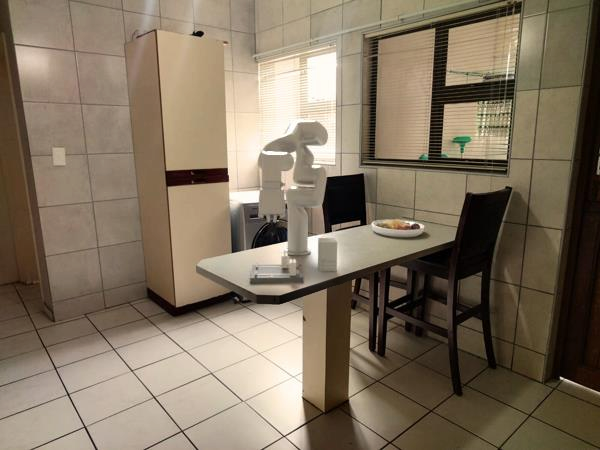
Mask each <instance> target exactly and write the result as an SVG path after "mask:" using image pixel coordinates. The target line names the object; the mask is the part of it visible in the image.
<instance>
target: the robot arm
mask: <svg viewBox="0 0 600 450" xmlns="http://www.w3.org/2000/svg"><path fill="white" fill-rule="evenodd" d="M327 130H328V129H327V128H326V127H325V126H324V125H323V124H322V123H321V122H319V121H317V120H313V119H310V120H309V119H305V120H304V119H298V120H294V121H292V122H291V123H290V124H289V125H288V126H287V129H286V130H285V132H284V133H283V135H282V136H279V137H278V138H275V139H274V140H271V141H270V142H268V143H266V144H265V145H264V146H263V147H262V149H261V151H260V153H259V155H258V158H257V164H258V167H259V168H260V169H261V188H260V189H259V194H258V214H257V217H258V218H262V219H264V220H265V221H266V222H267V231H269V233H274V231H276V223H277V221H278V220H279V219H283V218H285V217H286V212H285V211H286V208H287V247H286V248H284V250H283V253H284V252H285V253H287V254H288V255H289V256H295V257H296V256H297V257H299V256H306V255H309V254H311V248H309V247H308V244H309V243H308V235H309V214H308V213H307V211H306V209H305V208H311V209H312V208H313V209H318V208H320V207H322V205H323V202H324V198H325V192H326V185H327V180H328V174H327V170H326V168H325V167H324V166H322V165H316V164H315V165H314V162H315V156H314V153H312V151H311V149H310V148H309V147H308V146H311V147H313V146H315V147H322V146H325V145H326V144H327V143H328V139H329V134H328V131H327ZM294 152H295V155H296V157H295V159H294V156H293V155H292V153H294ZM293 167H294V168H293ZM292 168H293V173H292V182H293V183H294V184H295V185H296V186H295V185H294V186H290V187H289V188H288V189H286V192H285V191H284V188H283V187H286V182H283V181H282V172H288V171H289V172H290V171H291V170H292ZM285 201H286V203H285ZM285 204H286V206H287V207H286V208H285ZM271 216H273V219H272V220H271Z"/></svg>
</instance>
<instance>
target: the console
mask: <svg viewBox="0 0 600 450" xmlns="http://www.w3.org/2000/svg"><path fill="white" fill-rule="evenodd" d="M249 280H250V284H274V283H275V284H276V283H277V284H280V283H281V284H282V283H283V284H285V283H286V284H287V283H294V284H296V283H297V284H299V283H300V284H301V283H303V284H304V273H303V269H302V264H298V262H296V276H290V274H289V264H288V268H282V264H259V262H256V263H255V264H252V266H251V272H250V279H249Z"/></svg>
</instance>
